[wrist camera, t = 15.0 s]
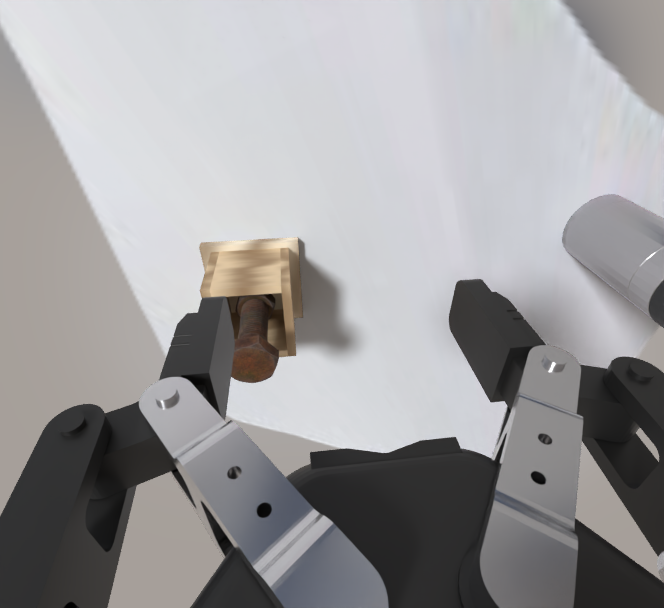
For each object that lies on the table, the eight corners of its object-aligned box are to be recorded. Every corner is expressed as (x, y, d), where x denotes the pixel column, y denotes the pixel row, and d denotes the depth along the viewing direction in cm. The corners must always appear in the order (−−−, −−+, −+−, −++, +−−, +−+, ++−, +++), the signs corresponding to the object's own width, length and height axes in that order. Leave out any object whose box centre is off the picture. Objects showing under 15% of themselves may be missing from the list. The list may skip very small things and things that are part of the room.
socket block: (297, 237, 49) (301, 277, 41) (302, 312, 56) (306, 359, 48) (200, 242, 48) (186, 285, 40) (218, 318, 55) (208, 367, 47)
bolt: (269, 306, 53) (266, 389, 41) (232, 297, 52) (219, 380, 40) (282, 271, 50) (283, 350, 38) (243, 261, 49) (232, 339, 37)
